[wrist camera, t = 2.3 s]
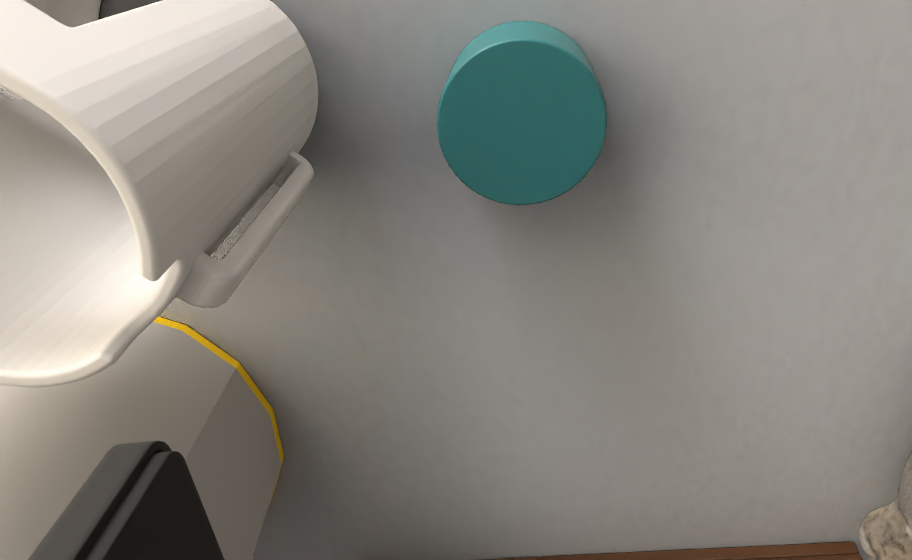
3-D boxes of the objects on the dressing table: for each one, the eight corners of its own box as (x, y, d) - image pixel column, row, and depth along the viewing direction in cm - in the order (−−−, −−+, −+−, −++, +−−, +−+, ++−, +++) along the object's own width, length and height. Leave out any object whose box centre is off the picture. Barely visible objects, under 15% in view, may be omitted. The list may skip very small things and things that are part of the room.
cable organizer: (-19, -210, 20) (-641, -325, 9) (387, 62, 22) (265, 219, 12) (-83, 14, 23) (-619, 122, 12) (284, 234, 25) (108, 489, 14)
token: (436, 31, 22) (424, 51, 19) (591, 10, 21) (601, 26, 19) (457, 178, 24) (449, 214, 21) (601, 161, 23) (611, 196, 21)
